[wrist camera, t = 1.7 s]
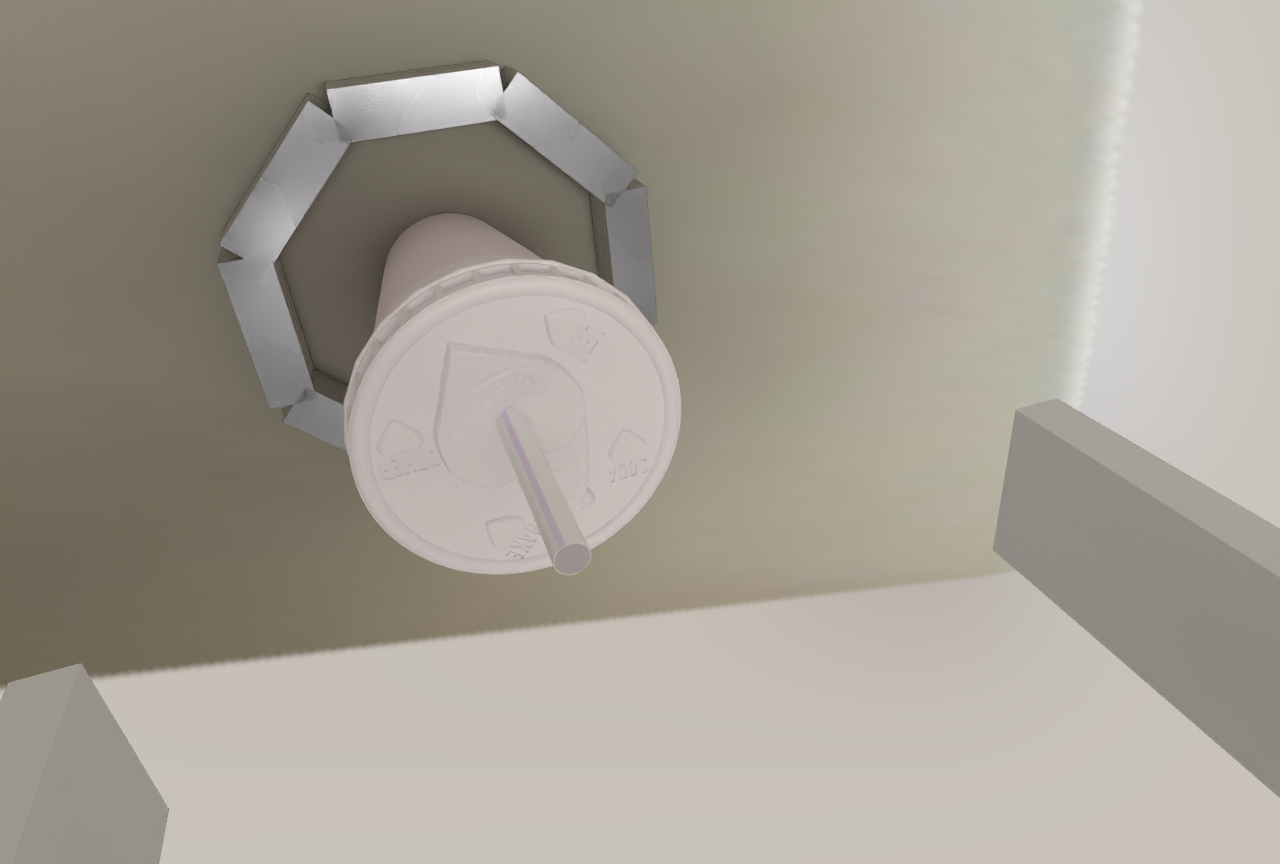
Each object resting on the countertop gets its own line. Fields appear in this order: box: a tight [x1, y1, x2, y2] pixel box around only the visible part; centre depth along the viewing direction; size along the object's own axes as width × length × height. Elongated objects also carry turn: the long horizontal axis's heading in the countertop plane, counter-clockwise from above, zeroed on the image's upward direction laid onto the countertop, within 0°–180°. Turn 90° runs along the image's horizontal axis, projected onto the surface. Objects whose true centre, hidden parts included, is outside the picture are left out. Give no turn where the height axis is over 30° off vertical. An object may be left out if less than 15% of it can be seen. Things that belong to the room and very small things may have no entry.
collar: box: [218, 60, 657, 452], centre depth 23 cm, size 11×11×2 cm
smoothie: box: [343, 213, 681, 575], centre depth 18 cm, size 6×6×14 cm
